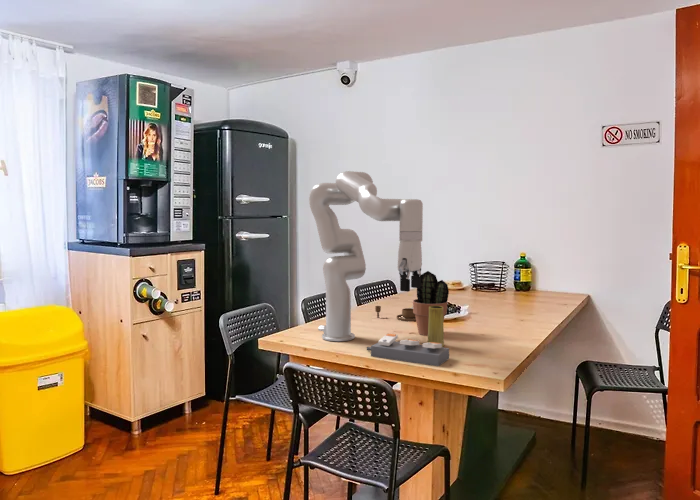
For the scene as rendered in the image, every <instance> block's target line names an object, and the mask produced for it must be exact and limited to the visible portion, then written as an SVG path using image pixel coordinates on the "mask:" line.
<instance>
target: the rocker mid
mask: <svg viewBox="0 0 700 500" xmlns="http://www.w3.org/2000/svg"><path fill="white" fill-rule="evenodd" d="M399 342H400V344H404V345H419V344H420V340H418V339H410V338H409V339H401V340H400V341H399Z"/></svg>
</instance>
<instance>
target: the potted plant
mask: <svg viewBox="0 0 700 500" xmlns="http://www.w3.org/2000/svg"><path fill="white" fill-rule="evenodd" d="M448 285H449V284H448V283H446V281H444V280H443V279H441V280H439V281H438V278H437V276H436V274H434V273H432V272H431V271H429V270H427V271H425V272H423V273H421V284H420V288H416V299H413V300H412V308H413V313H414V314H415V317H416V318H415V319H416V321H415V322H416V327H417V333H418V335H420V336H426V337H428V321H429V306H442V307H443V322H444V320H445V316H446V315H447V313H448V311H447V310H448V300H449V294H450V291H449V286H448Z"/></svg>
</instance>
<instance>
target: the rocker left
mask: <svg viewBox="0 0 700 500" xmlns="http://www.w3.org/2000/svg"><path fill="white" fill-rule="evenodd" d="M398 338H399V334H395V333H386V334H385V335H383V337H381V338H380V339H379V340H378V341H377V343H378V345H386V346H390V345H391V344H392V343H393V342H394V341H397V340H398Z"/></svg>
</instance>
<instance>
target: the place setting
mask: <svg viewBox="0 0 700 500" xmlns="http://www.w3.org/2000/svg"><path fill="white" fill-rule="evenodd" d="M381 307H382V306H380V305H376V306H375V308H374V309H375V310H374V311H375V312H376V319H380V312H381V309H382V308H381ZM401 309H402V310H401V314H397V315H396V319H397V320H398V321H400V320H401V322H408V321H414V322H416V317H415V314H414V313H413V307H411V308H410V307H409V308H405V307H404V308H401ZM401 316H403V317H401ZM399 317H401V318H399Z"/></svg>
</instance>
